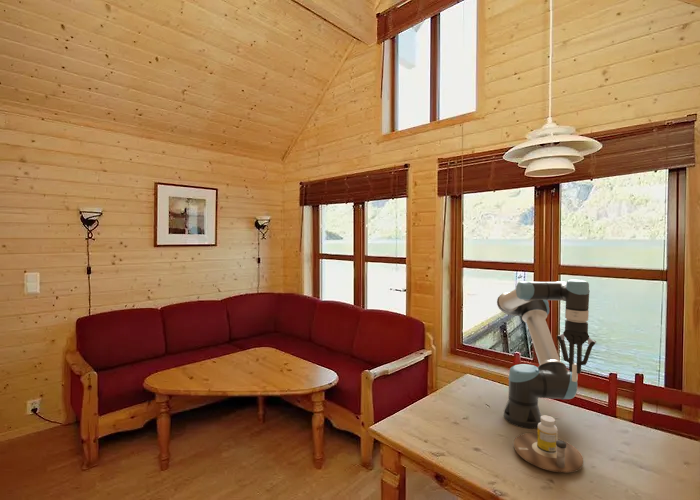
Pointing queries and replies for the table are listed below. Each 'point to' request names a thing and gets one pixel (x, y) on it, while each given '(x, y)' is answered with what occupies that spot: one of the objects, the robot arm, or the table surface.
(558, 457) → the disc
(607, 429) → the table surface
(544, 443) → the pill bottle
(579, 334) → the robot arm
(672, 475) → the table surface
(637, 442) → the table surface
